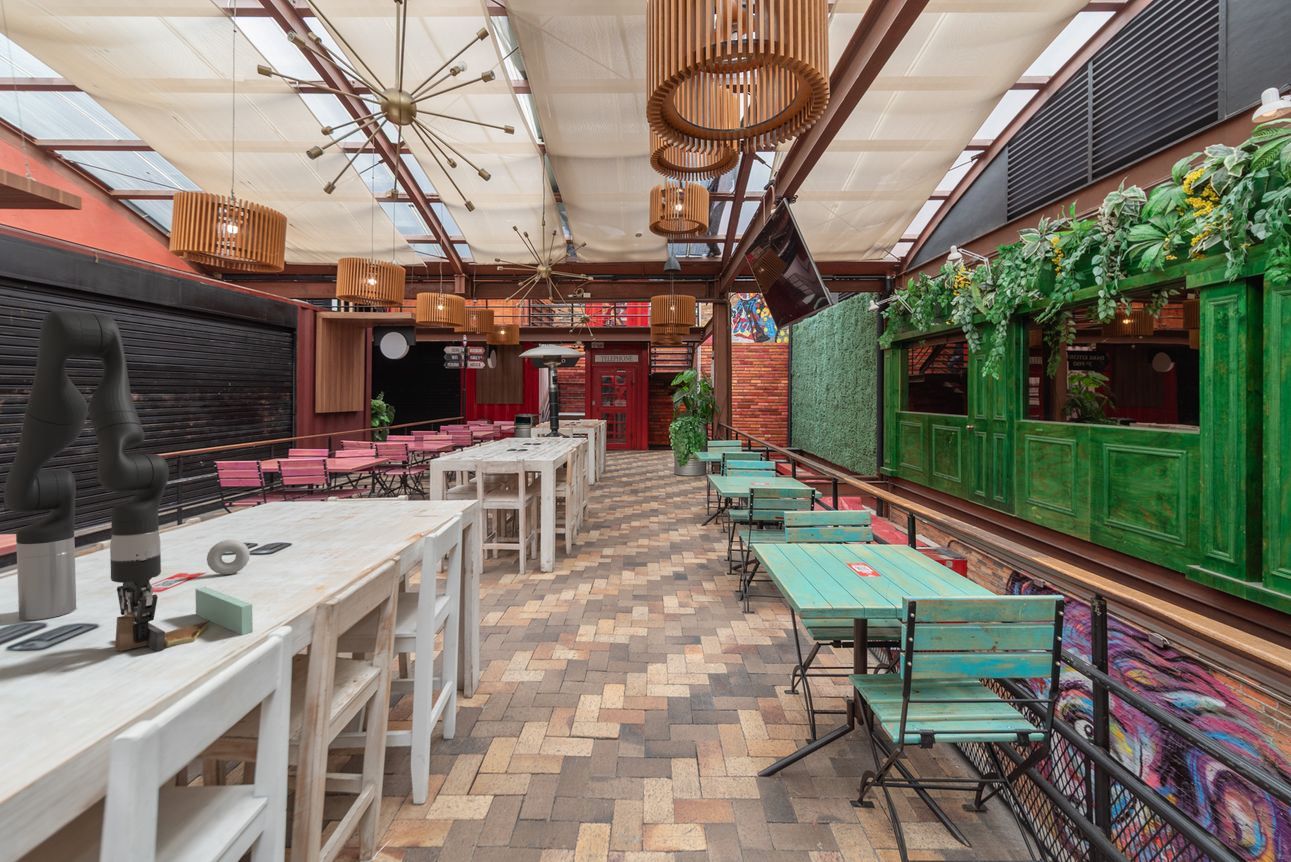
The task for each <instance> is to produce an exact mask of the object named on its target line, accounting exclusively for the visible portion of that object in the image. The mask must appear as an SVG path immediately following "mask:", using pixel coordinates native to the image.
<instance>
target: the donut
mask: <svg viewBox="0 0 1291 862" xmlns="http://www.w3.org/2000/svg"><path fill="white" fill-rule="evenodd" d="M227 552H232V553H234V555H235V558H234V559H233V561H231V562H225V561H224V560H223V558H222V557H223V555H224V554H225V553H227ZM250 556H251V554H250V549H249V547H248V546H247V545H246V544H245V543H244V542H242V541H241V540H238V539H237V540H236V539H225V540H221V541H219V542H218V543H215V544H214V545H213V546H212V547H211V548H210V549H209V551H208V552H207V556H206V562H207V565H208V568H210V570H211V571H213V572H214V573H216V574H219V575H231V574H232V575H233V574H236V573H238V572H240V571H242V570H243V569H244V568H245V567H247V565H248V562H249V561H250V558H251V557H250Z"/></svg>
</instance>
